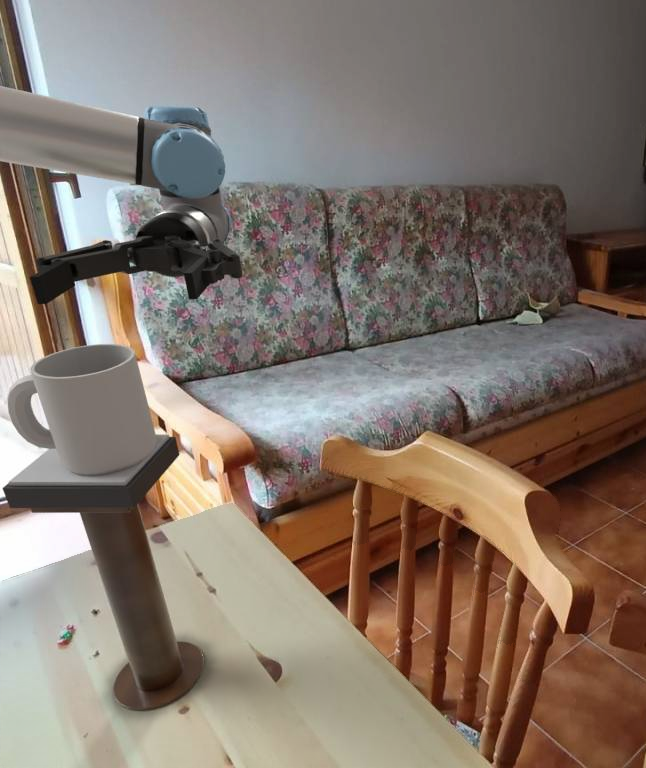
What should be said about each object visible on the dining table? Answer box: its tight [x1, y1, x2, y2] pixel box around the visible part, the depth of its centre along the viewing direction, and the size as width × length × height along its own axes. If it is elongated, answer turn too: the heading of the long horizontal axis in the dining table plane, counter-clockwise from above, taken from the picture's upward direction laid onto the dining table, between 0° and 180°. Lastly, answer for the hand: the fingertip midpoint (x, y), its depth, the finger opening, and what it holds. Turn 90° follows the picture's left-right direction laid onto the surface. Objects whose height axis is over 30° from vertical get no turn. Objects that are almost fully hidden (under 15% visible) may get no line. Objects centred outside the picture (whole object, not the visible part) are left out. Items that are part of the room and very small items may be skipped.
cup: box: [6, 343, 157, 476], centre depth 52 cm, size 7×10×9 cm
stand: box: [30, 503, 205, 712], centre depth 61 cm, size 8×8×25 cm
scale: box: [2, 433, 180, 509], centre depth 55 cm, size 10×8×2 cm
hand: (115, 288), depth 61 cm, fingers open, 13 cm apart
